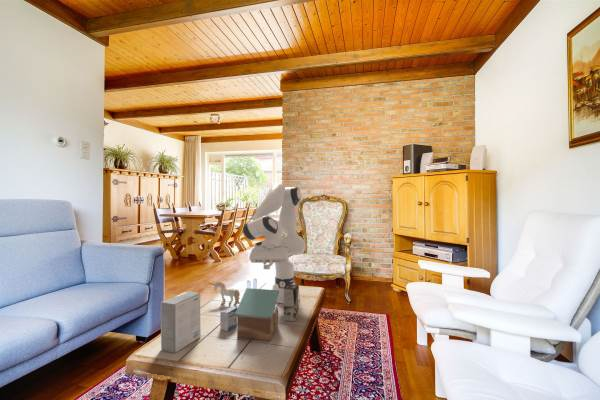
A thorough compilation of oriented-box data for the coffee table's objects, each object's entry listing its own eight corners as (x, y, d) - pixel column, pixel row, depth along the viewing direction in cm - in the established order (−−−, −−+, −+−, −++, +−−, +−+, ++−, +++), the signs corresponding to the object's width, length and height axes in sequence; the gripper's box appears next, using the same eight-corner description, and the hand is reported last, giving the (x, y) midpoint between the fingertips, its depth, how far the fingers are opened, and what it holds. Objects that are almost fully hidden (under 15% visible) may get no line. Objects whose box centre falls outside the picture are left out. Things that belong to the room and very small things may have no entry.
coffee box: (295, 321, 148) (295, 289, 148) (283, 320, 150) (283, 288, 150) (299, 314, 157) (299, 284, 157) (287, 313, 159) (287, 284, 159)
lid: (246, 289, 143) (246, 288, 142) (279, 292, 139) (278, 290, 139) (235, 316, 129) (234, 315, 128) (271, 320, 126) (270, 318, 125)
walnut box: (248, 325, 143) (248, 305, 143) (278, 328, 140) (278, 307, 140) (237, 338, 129) (237, 316, 129) (269, 341, 127) (269, 319, 127)
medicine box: (227, 331, 136) (228, 313, 136) (219, 329, 138) (220, 311, 138) (237, 325, 144) (237, 307, 144) (229, 323, 145) (229, 306, 145)
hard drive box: (187, 334, 133) (188, 290, 133) (201, 337, 130) (201, 292, 130) (159, 350, 119) (160, 301, 119) (174, 354, 116) (175, 303, 116)
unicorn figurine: (212, 301, 176) (212, 279, 176) (243, 303, 174) (243, 281, 174) (207, 305, 169) (207, 282, 169) (239, 307, 167) (239, 284, 167)
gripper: (291, 249, 156) (287, 272, 146) (255, 250, 160) (249, 272, 150) (288, 242, 152) (285, 264, 142) (251, 243, 156) (245, 265, 146)
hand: (266, 268), depth 146 cm, fingers closed
